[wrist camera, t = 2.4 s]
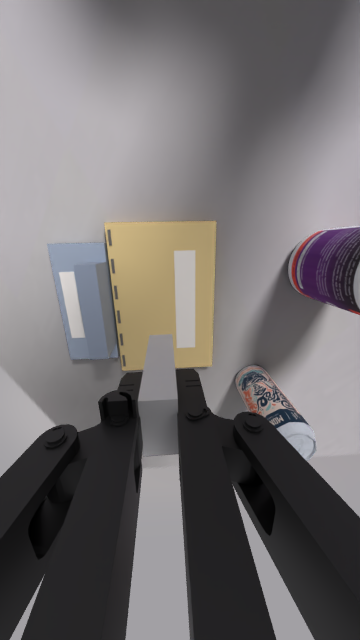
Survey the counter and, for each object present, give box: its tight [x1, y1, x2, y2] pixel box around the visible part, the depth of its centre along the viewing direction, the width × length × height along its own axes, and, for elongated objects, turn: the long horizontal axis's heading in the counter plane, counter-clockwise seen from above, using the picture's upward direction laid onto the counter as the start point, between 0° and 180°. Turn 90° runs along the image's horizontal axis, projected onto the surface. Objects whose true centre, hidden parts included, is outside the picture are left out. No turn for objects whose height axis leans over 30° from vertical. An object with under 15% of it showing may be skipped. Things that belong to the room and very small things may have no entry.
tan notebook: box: [104, 221, 216, 371], centre depth 27 cm, size 18×12×1 cm, turn 1°
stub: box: [47, 243, 120, 360], centre depth 24 cm, size 14×6×5 cm, turn 1°
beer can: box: [235, 365, 316, 461], centre depth 26 cm, size 5×5×12 cm
